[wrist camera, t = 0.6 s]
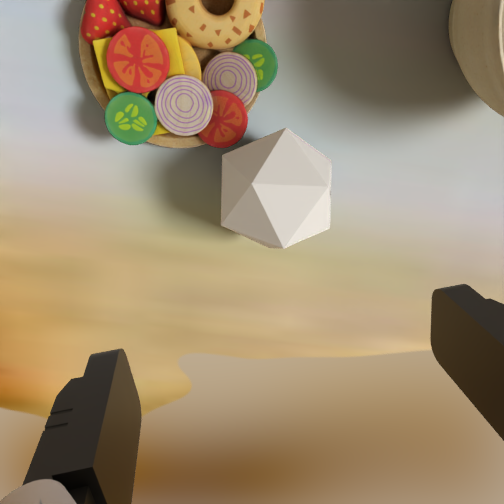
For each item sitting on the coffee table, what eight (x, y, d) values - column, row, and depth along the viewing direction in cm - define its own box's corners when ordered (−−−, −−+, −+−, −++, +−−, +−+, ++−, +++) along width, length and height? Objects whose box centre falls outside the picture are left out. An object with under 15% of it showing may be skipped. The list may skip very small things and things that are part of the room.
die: (273, 247, 39) (365, 250, 32) (190, 246, 34) (279, 248, 27) (275, 154, 39) (368, 135, 32) (192, 137, 34) (282, 109, 26)
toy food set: (255, -67, 30) (263, -81, 27) (282, 131, 35) (291, 137, 32) (55, -34, 29) (41, -46, 26) (113, 164, 35) (107, 173, 32)
